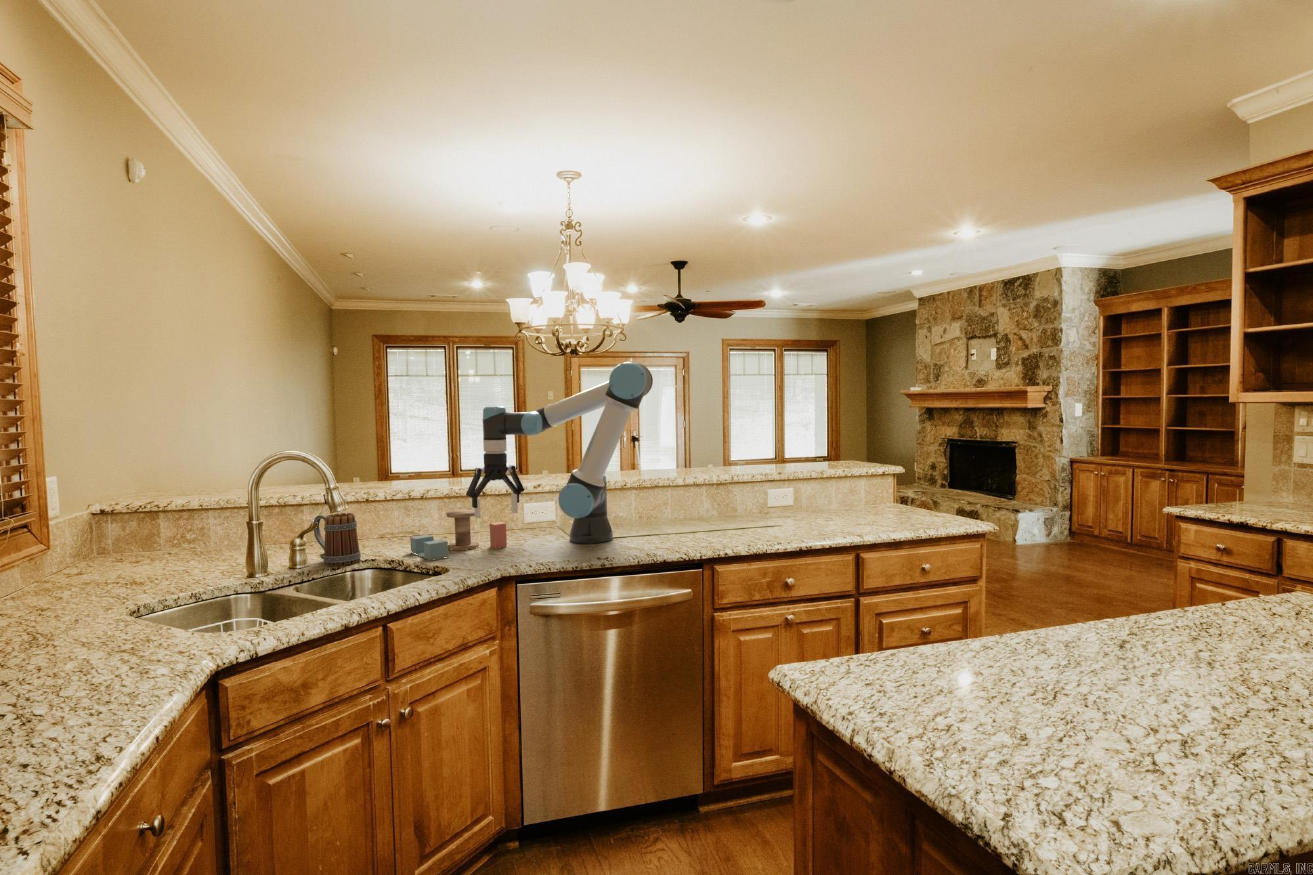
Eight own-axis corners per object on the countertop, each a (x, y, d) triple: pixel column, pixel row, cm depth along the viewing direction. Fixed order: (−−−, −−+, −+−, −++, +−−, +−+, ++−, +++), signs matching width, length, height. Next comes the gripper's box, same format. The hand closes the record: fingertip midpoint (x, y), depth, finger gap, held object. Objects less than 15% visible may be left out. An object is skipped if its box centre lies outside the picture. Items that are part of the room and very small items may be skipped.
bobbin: (483, 547, 229) (482, 512, 228) (455, 552, 223) (454, 515, 222) (470, 542, 237) (469, 508, 236) (443, 547, 230) (441, 512, 230)
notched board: (448, 557, 215) (447, 541, 215) (429, 560, 211) (429, 544, 211) (428, 549, 227) (428, 534, 227) (410, 552, 223) (410, 537, 223)
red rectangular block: (506, 546, 229) (505, 523, 229) (496, 548, 227) (495, 525, 226) (501, 545, 232) (500, 521, 232) (490, 546, 230) (489, 523, 229)
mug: (368, 559, 214) (366, 512, 214) (343, 567, 205) (340, 518, 204) (329, 557, 220) (327, 511, 219) (303, 564, 210) (300, 516, 209)
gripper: (522, 449, 238) (523, 509, 240) (454, 453, 222) (456, 518, 224) (533, 451, 233) (534, 512, 234) (464, 455, 217) (466, 521, 218)
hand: (496, 515), depth 229 cm, fingers open, 13 cm apart
